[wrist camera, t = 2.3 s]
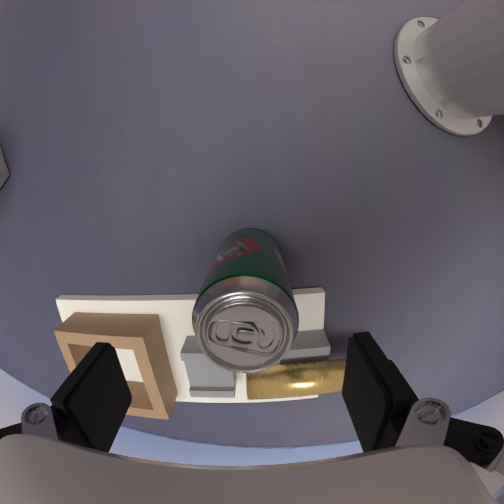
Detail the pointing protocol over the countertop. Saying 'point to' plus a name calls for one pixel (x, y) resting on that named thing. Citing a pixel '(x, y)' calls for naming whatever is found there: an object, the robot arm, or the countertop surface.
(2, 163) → the skincare box
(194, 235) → the countertop surface
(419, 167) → the countertop surface
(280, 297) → the soda can
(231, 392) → the dock
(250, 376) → the pin
